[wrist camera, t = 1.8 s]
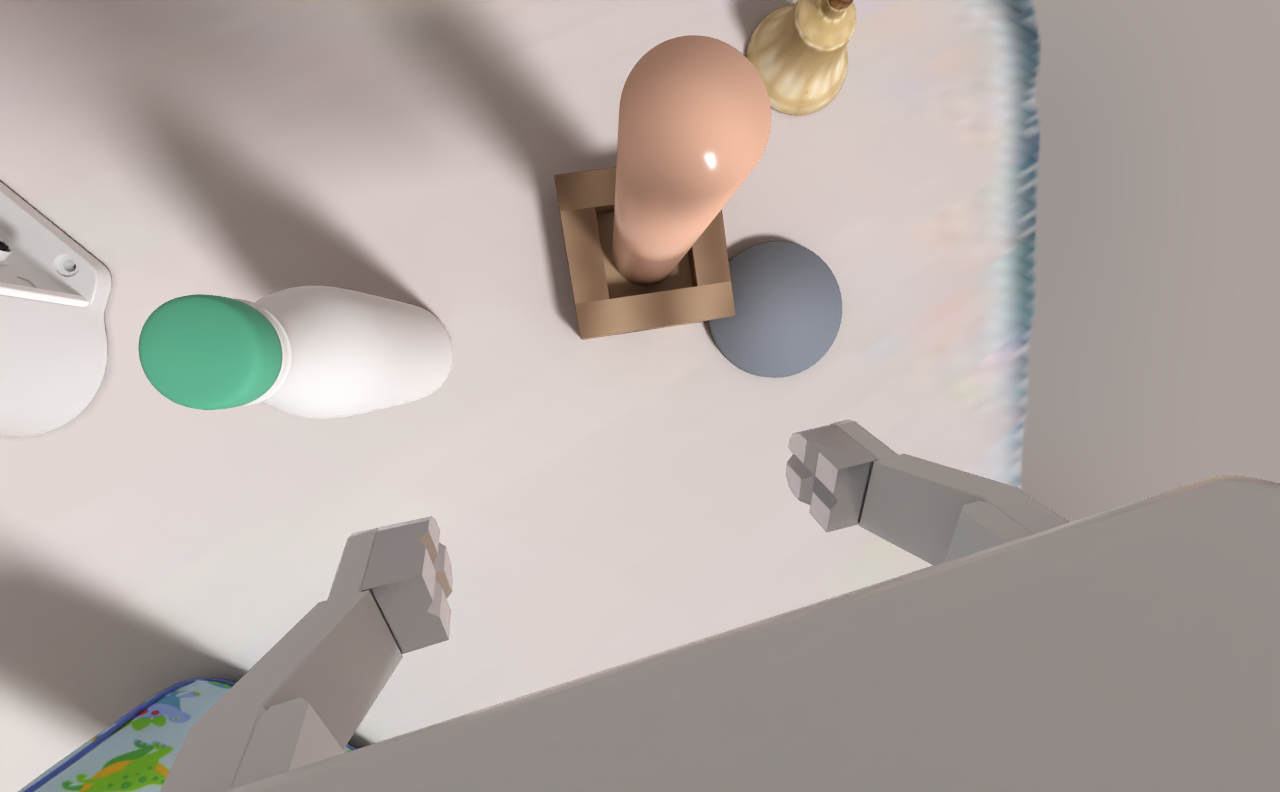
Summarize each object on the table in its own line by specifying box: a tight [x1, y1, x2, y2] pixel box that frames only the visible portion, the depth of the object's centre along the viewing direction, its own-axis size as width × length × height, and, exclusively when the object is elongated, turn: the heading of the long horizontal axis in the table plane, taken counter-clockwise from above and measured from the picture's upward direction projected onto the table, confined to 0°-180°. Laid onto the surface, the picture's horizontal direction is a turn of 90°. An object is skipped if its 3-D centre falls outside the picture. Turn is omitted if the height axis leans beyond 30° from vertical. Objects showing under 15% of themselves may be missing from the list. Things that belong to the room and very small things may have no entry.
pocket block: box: [554, 167, 735, 340], centre depth 38 cm, size 12×12×3 cm
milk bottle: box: [139, 285, 454, 419], centre depth 29 cm, size 8×8×20 cm
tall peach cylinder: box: [612, 36, 771, 286], centre depth 27 cm, size 5×5×22 cm
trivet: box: [708, 241, 842, 378], centre depth 40 cm, size 11×11×1 cm
